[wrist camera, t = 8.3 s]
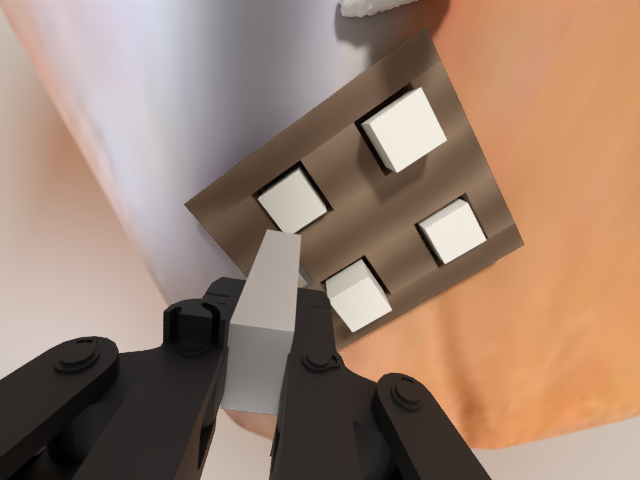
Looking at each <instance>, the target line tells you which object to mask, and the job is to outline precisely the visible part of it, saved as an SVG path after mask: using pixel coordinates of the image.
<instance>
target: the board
mask: <svg viewBox="0 0 640 480" xmlns="http://www.w3.org/2000/svg"><path fill="white" fill-rule="evenodd" d="M420 87H421V88H422V90H423V92H424V94H425V96H426V98H427V100H428V102H429V104H430V106H431V108H432V110H433V112H434V114H435V116H436V118H437V120H438V122H439V125H440V127H441V129H442V131H443V133H444V135H445V137H446V139H447V141H445V142H444V143H442V144H441V145H439V146H437V147H436V148H434V149H433V150H431V151H430V152H428V153H427V154H425V155H424V156H422V157H421V158H419V159H418V160H416V161H415V162H413V163H412V164H410V165H408V166H407V167H405V168H404V169H402V170H401V171H399V172H398V173H397V172H395V171H393V170H391V169H389V168H387V167H384V168H383V169H381V168H380V167H379V165H378V163H377V162H376V160H375V158H374V156H373V155H372V153H371V151H370V150H369V148H368V146H367V145H366V143H365V141H364V139H363V138H362V136H361V134H360V133H359V131H358V129H357V127H356V126H355V124H354V122H355V121H356V120H357V119H359V118H360V117H362V116H363V115H365V114H366V113H367V112H369V111H370V110H372V109H373V108H374V107H376V106H377V105H379V104H380V103H381V102H383V101H384V100H386V99H387V98H389V97H390V96H391V95H393V94H394V93H396V92H397V91H398V90H401V92H402V94H405V93H407V92H410V91H412V90H415V89H418V88H420ZM300 160H301V162H302V163H303V165H304V166H305V168H306V169H307V171H308V172H309V174H310V175H311V177H312V178H313V180H314V181H315V182H316V184H317V185H318V187H319V188H320V190H321V191H322V193H323V194H324V196H325V197H326V199H327V200H328V202H329V203H330V204H328V205H327V206H326V210H327V212H325V213H324V214H322V215H321V216H319V217H318V218H316V219H315V220H313V221H312V222H310V223H309V224H307V225H306V226H304V227H302V228H301V229H299V230H298V231H296V232H295V233H293V234H297V235H301V245H300V259H299V273H298V287H299V288H306V289H312V290H319V291H324V293H325V294H326V295H327V288H326V278H328V277H329V276H331V275H333V274H334V273H336V272H338V271H339V270H341V269H342V268H344V267H346V266H347V265H349V264H351V263H352V262H354V261H355V260H357V259H359V258H360V257H362V256H364V255H365V256H366V258H367V259H368V261H369V262H370V263H371V265H372V266H373V268H374V269H375V271H376V272H377V274H378V275H379V277H380V278H381V280H382V281H381V282H379V283H378V284H379V285H380V286H381V288H382V289H383V291H384V294H385V296H386V298H387V300H388V302H389V304H390V307H391V309H392V311H390V312H388V313H386V314H385V315H383V316H381V317H379V318H378V319H376V320H374V321H372V322H371V323H369V324H367V325H365V326H364V327H362V328H360V329H358V330H356V331H355V332H352V331H351V330H350V328H349V327H348V326H347V324H346V323H345V322H344V321H343V319H342V318H341V317H340V315H339V314H338V313H337V312H336V310H335V309H334V308H333V306H332V305H331V312H332V320H333V329H334V337H335V345H336V351H337V350H339V349H340V348H342V347H344V346H346V345H348V344H349V343H351V342H353V341H355V340H356V339H358V338H360V337H362V336H364V335H365V334H367V333H369V332H371V331H372V330H374V329H376V328H378V327H380V326H381V325H383V324H385V323H387V322H388V321H390V320H392V319H394V318H396V317H397V316H399V315H401V314H403V313H404V312H406V311H408V310H410V309H411V308H413V307H415V306H417V305H419V304H420V303H422V302H424V301H426V300H427V299H429V298H431V297H433V296H435V295H436V294H438V293H440V292H442V291H443V290H445V289H447V288H449V287H451V286H452V285H454V284H456V283H458V282H459V281H461V280H463V279H465V278H467V277H468V276H470V275H472V274H474V273H475V272H477V271H479V270H481V269H483V268H484V267H486V266H488V265H490V264H491V263H493V262H495V261H497V260H499V259H500V258H502V257H504V256H506V255H507V254H509V253H511V252H513V251H515V250H516V249H518V248H520V247H522V246H523V245H525V244H524V242H523V240H522V238H521V235H520V233H519V231H518V229H517V227H516V224H515V222H514V220H513V218H512V216H511V213H510V211H509V209H508V207H507V205H506V202H505V200H504V198H503V196H502V194H501V191H500V189H499V187H498V185H497V183H496V180H495V178H494V176H493V174H492V172H491V169H490V167H489V165H488V163H487V160H486V158H485V156H484V154H483V152H482V149H481V147H480V145H479V143H478V141H477V138H476V136H475V134H474V132H473V130H472V127H471V125H470V123H469V121H468V119H467V116H466V114H465V112H464V110H463V108H462V105H461V103H460V101H459V99H458V97H457V94H456V92H455V90H454V88H453V85H452V83H451V81H450V79H449V77H448V74H447V72H446V70H445V68H444V66H443V63H442V61H441V59H440V57H439V55H438V52H437V50H436V48H435V46H434V44H433V41H432V39H431V37H430V35H429V33H428V30H427V28H426V26H425V27H424V28H422V29H421V30H420V31H418V32H417V33H416V34H414V35H413V36H411V37H410V38H409V39H407V40H406V41H405V42H403V43H402V44H401V45H399V46H398V47H397V48H395V49H394V50H392V51H391V52H390V53H388V54H387V55H386V56H384V57H383V58H382V59H380V60H379V61H378V62H376V63H375V64H373V65H372V66H371V67H369V68H368V69H367V70H365V71H364V72H363V73H361V74H360V75H359V76H357V77H356V78H355V79H353V80H352V81H350V82H349V83H348V84H346V85H345V86H344V87H342V88H341V89H340V90H338V91H337V92H336V93H334V94H333V95H331V96H330V97H329V98H327V99H326V100H325V101H323V102H322V103H321V104H319V105H318V106H317V107H315V108H314V109H312V110H311V111H310V112H308V113H307V114H306V115H304V116H303V117H302V118H300V119H299V120H298V121H296V122H295V123H293V124H292V125H291V126H289V127H288V128H287V129H285V130H284V131H283V132H281V133H280V134H279V135H277V136H276V137H275V138H273V139H272V140H270V141H269V142H268V143H266V144H265V145H264V146H262V147H261V148H260V149H258V150H257V151H256V152H254V153H253V154H251V155H250V156H249V157H247V158H246V159H245V160H243V161H242V162H241V163H239V164H238V165H237V166H235V167H234V168H232V169H231V170H230V171H228V172H227V173H226V174H224V175H223V176H222V177H220V178H219V179H218V180H216V181H215V182H214V183H212V184H211V185H209V186H208V187H207V188H205V189H204V190H203V191H201V192H200V193H199V194H197V195H196V196H195V197H193V198H192V199H190V200H189V201H188V202H186V203H185V204H184V205H185V206H186V207H187V208H188V210H189V211H190V212H191V213H192V214H193V215H194V217H195V218H196V219H197V220H198V221H199V222H200V223H201V225H202V226H203V227H204V228H205V229H206V230H207V232H208V233H209V234H210V235H211V236H212V237H213V238H214V240H215V241H216V242H217V243H218V244H219V245H220V247H221V248H222V249H223V250H224V251H225V252H226V253H227V255H228V256H229V257H230V258H231V259H232V260H233V262H234V263H235V264H236V265H237V266H238V267H239V268H240V270H241V271H242V272H243V273H244V274H245V275H246V277H247V278H248V276H249V274H250V271H251V269H252V266H253V264H254V261H255V259H256V256H257V254H258V251H259V249H260V246H261V244H262V241H263V239H264V236H265V234H266V231H267V229H268V230H274V231H280V232H283V231H282V230H281V229H280V227H279V226H278V225H277V224H276V222H275V221H274V220H273V218H272V217H271V216H270V214H269V213H268V212H267V211H266V209H265V208H264V207H263V205H262V204H261V203H260V201H259V200H258V198H259V196H260V195H261V193H260V192H259V191H258V190H259V189H260V188H262V187H263V186H264V185H266V184H267V183H269V182H270V181H271V180H273V179H274V178H276V177H277V176H278V175H280V174H281V173H283V172H284V171H286V170H287V169H288V168H290V167H291V166H293V165H294V164H295V163H297V162H298V161H300ZM456 198H458V199H461V200H463V201H465V202H467V203H468V204H469V206H470V208H471V210H472V212H473V214H474V216H475V218H476V220H477V222H478V224H479V226H480V228H481V230H482V232H483V234H484V236H485V238H486V241H484V242H483V243H481V244H479V245H478V246H476V247H474V248H472V249H471V250H469V251H467V252H465V253H464V254H462V255H460V256H459V257H457V258H455V259H453V260H452V261H450V262H448V263H446V264H444V263H443V262H442V261H441V260H440V259H439V258H438V257H437V256H436V255H435V254H434V253H433V252H429V250H428V248H427V247H426V245H425V243H424V241H423V240H422V238H421V236H420V235H419V233H418V231H417V230H416V228H415V226H414V224H416V223H417V222H419V221H420V220H422V219H424V218H425V217H427V216H428V215H430V214H432V213H433V212H435V211H437V210H438V209H440V208H441V207H443V206H445V205H446V204H448V203H450V202H451V201H453V200H454V199H456Z"/></svg>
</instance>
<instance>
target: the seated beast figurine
mask: <svg viewBox="0 0 640 480" xmlns="http://www.w3.org/2000/svg"><path fill="white" fill-rule="evenodd" d="M414 1H415V2H416V1H418V0H339V4H340V5H341V6H342V7H341V9H340V10H341V14H342V16H346V17H355V16H358V17H361V18H362V17H363V16H364V15H369V16H371V15H374V14H376V13H377V12H378V11H380V12H384V11H385V10H387V9H388V10H391V9H393V8H394V7H399V6H400V4H402V5H404V4H409V3H410V2H414Z"/></svg>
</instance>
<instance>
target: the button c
mask: <svg viewBox="0 0 640 480" xmlns="http://www.w3.org/2000/svg"><path fill="white" fill-rule="evenodd" d="M361 125H362V127H363V129H364V131H365V132H366V134H367V136H368V137H369V139H370V141H371V143H372V144H373V146H374V148H375V150H376V151H377V153H378V155H379V156H380V158H381V160H382V162H383V163H384V165H385V167H387V168H389V169H391V170H393V171H395V172H397V173H398V172H399V171H401V170H402V169H404V168H405V167H407V166H408V165H410V164H412V163H413V162H415V161H416V160H418V159H419V158H421V157H422V156H424V155H425V154H427V153H428V152H430V151H431V150H433V149H434V148H436V147H437V146H439V145H441V144H442V143H444V142H445V141H447V139H446V137H445V135H444V133H443V131H442V129H441V127H440V125H439V122H438V120H437V118H436V116H435V114H434V112H433V110H432V108H431V106H430V104H429V102H428V100H427V98H426V96H425V94H424V92H423V90H422V88H421V87H420V88H418V89H415V90H412V91H410V92H407V93H405V94H403V95H402V96H400V97H399V98H398V99H396V100H395V101H393V102H392V103H391V104H389V105H388V106H386V107H385V108H383V109H382V110H381V111H379V112H378V113H376V114H375V115H373V116H372V117H371V118H369V119H368V120H366V121H365V122H364V123H362V124H361Z"/></svg>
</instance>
